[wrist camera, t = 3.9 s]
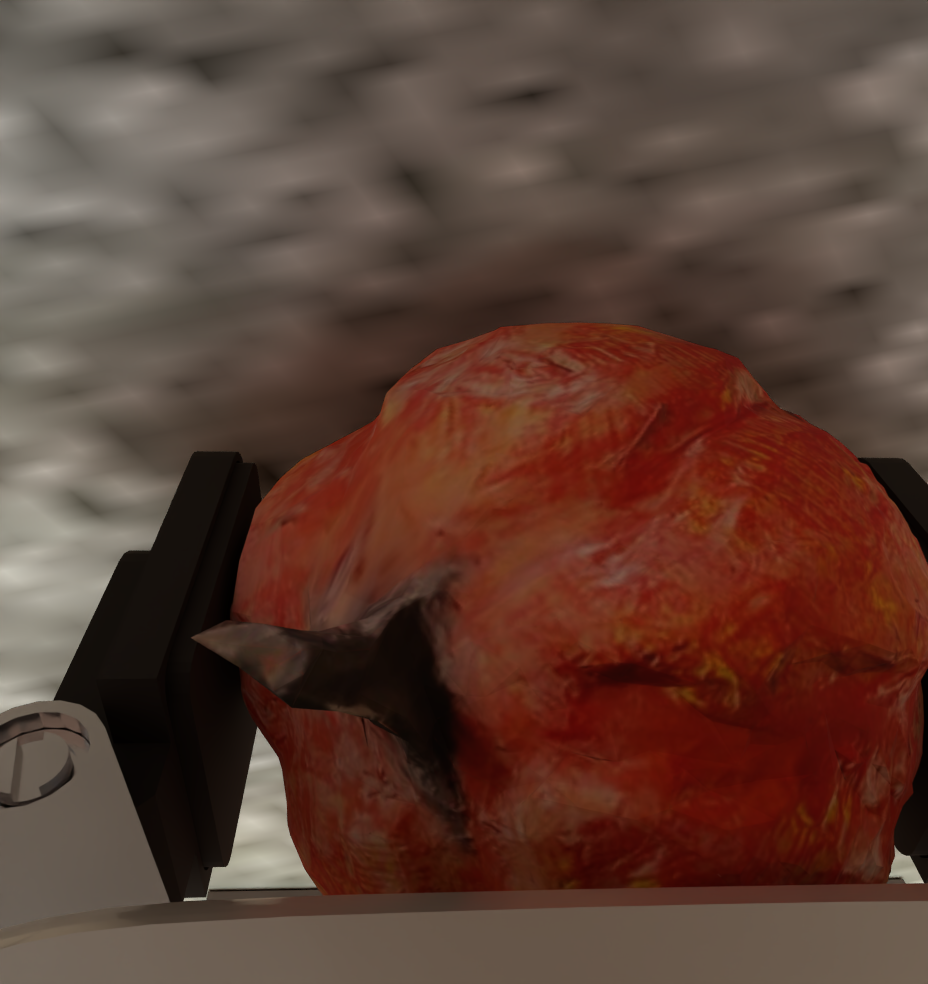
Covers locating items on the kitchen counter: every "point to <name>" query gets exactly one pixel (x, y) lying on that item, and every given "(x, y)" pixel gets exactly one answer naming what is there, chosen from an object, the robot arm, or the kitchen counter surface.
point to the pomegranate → (583, 630)
